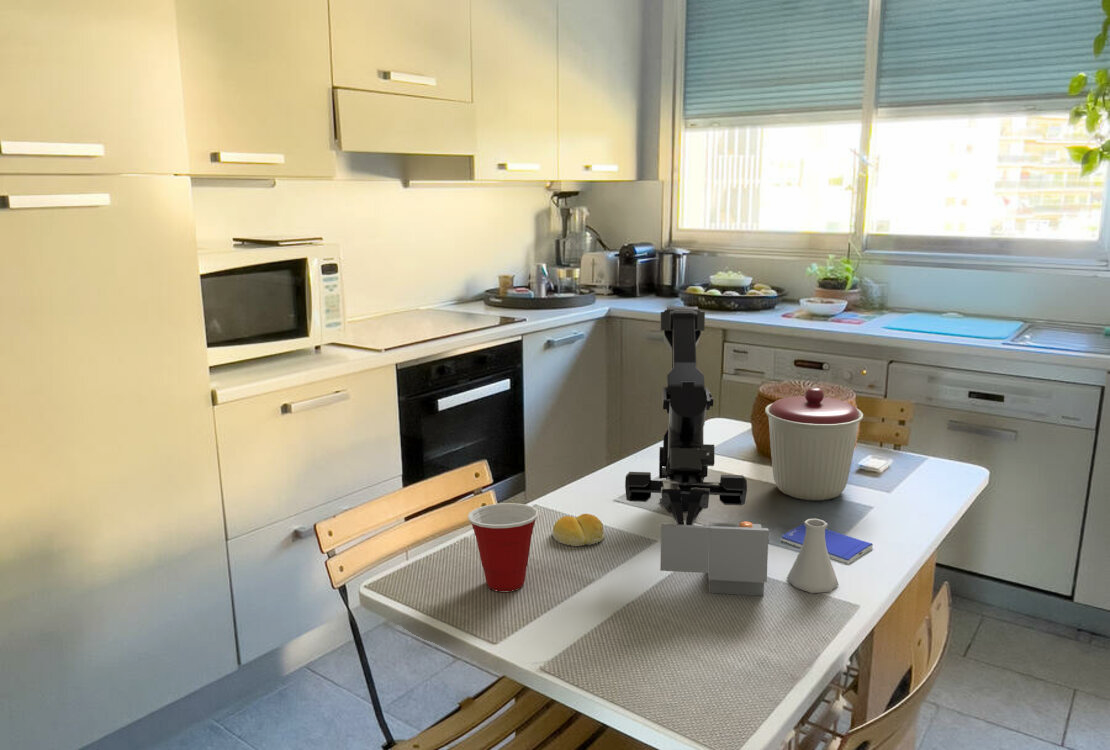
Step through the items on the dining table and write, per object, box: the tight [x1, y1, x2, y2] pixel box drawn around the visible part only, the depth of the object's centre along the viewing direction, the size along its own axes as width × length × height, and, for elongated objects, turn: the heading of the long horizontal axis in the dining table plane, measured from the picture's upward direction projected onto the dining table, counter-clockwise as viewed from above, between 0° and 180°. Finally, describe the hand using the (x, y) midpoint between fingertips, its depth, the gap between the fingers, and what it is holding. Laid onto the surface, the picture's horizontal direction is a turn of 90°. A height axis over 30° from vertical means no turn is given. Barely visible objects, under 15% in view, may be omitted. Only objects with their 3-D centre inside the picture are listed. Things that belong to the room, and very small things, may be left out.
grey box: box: [707, 520, 766, 597], centre depth 130 cm, size 9×8×9 cm
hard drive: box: [780, 523, 874, 565], centre depth 143 cm, size 2×8×12 cm
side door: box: [659, 523, 770, 583], centre depth 125 cm, size 1×16×8 cm, turn 81°
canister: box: [764, 386, 864, 502], centre depth 165 cm, size 18×18×21 cm
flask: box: [786, 518, 839, 594], centre depth 129 cm, size 7×7×10 cm
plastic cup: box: [467, 502, 539, 592], centre depth 131 cm, size 11×11×12 cm
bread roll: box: [551, 513, 606, 547], centre depth 148 cm, size 8×9×4 cm
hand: (684, 539), depth 129 cm, fingers closed
